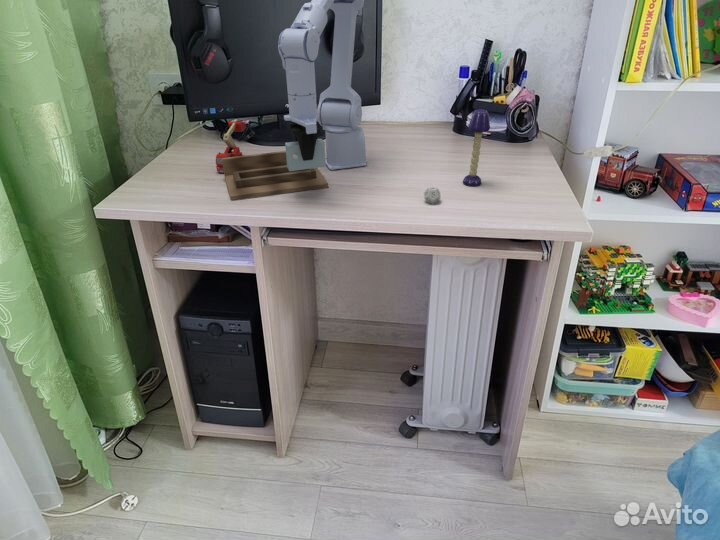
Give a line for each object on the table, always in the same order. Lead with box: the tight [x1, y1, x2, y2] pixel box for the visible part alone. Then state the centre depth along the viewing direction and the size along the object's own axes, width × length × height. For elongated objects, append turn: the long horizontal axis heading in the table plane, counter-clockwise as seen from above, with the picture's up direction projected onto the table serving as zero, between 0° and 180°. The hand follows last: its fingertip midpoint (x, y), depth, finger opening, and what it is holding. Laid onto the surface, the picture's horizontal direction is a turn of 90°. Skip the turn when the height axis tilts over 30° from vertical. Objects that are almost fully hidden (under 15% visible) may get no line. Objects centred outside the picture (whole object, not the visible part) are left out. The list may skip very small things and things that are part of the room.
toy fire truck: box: [215, 121, 247, 174], centre depth 136 cm, size 3×14×10 cm, turn 168°
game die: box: [423, 186, 441, 205], centre depth 116 cm, size 4×4×3 cm
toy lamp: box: [462, 108, 491, 187], centre depth 121 cm, size 5×5×17 cm
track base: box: [222, 150, 330, 201], centre depth 126 cm, size 22×14×5 cm, turn 108°
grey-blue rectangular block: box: [284, 138, 327, 171], centre depth 117 cm, size 8×3×6 cm, turn 108°
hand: (306, 157), depth 117 cm, fingers closed on grey-blue rectangular block, 2 cm apart
